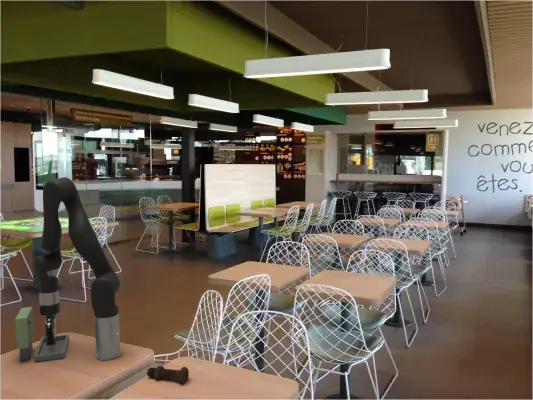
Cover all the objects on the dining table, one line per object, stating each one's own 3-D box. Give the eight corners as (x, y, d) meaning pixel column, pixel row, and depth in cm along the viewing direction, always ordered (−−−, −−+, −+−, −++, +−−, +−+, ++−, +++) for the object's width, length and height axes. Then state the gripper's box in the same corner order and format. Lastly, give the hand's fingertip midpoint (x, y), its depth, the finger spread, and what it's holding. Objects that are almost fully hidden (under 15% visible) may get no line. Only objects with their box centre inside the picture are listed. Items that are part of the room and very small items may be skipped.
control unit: (36, 348, 194) (33, 306, 193) (31, 362, 181) (28, 317, 180) (23, 349, 193) (20, 308, 191) (17, 364, 180) (14, 319, 178)
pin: (57, 341, 194) (56, 325, 193) (56, 345, 190) (55, 328, 189) (46, 342, 193) (45, 326, 192) (45, 346, 189) (44, 330, 188)
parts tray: (69, 339, 203) (68, 334, 203) (65, 358, 184) (64, 352, 184) (41, 343, 200) (41, 337, 199) (34, 362, 181) (34, 356, 181)
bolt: (150, 380, 170) (187, 385, 165) (143, 379, 165) (181, 384, 161) (153, 364, 172) (190, 367, 167) (146, 362, 168) (184, 366, 163)
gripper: (57, 306, 184) (59, 347, 186) (61, 295, 198) (62, 334, 199) (37, 308, 182) (39, 350, 183) (41, 297, 195) (43, 336, 197)
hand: (51, 341), depth 191 cm, fingers closed on pin, 4 cm apart
